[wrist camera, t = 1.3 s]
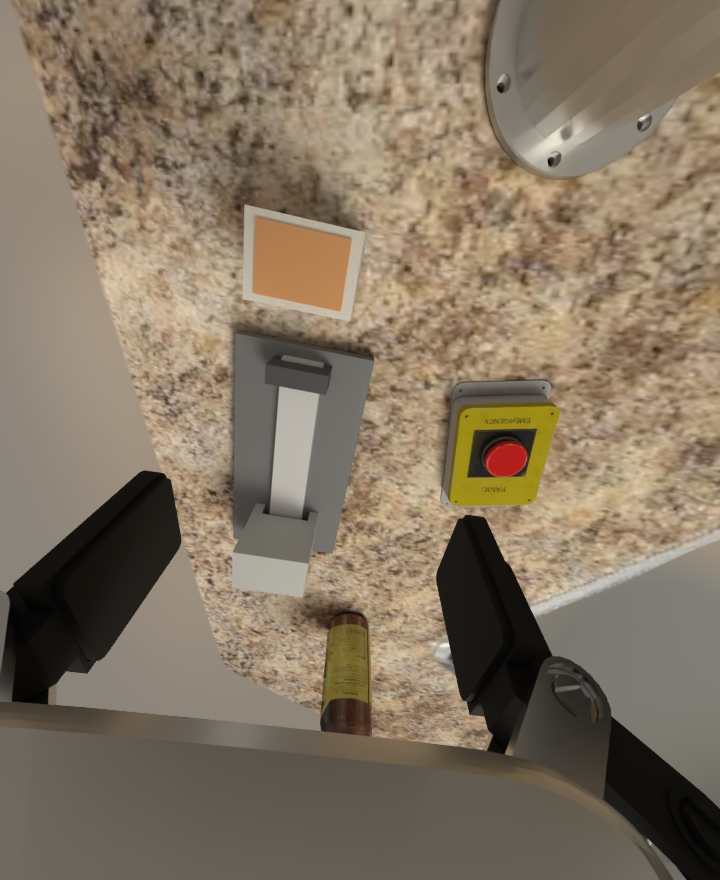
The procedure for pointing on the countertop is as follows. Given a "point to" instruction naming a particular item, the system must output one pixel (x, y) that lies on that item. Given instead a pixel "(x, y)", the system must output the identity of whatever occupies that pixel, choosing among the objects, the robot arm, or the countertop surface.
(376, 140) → the countertop surface
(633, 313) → the countertop surface
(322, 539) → the rail board
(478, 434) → the emergency button
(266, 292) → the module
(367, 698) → the sauce bottle
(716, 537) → the countertop surface
